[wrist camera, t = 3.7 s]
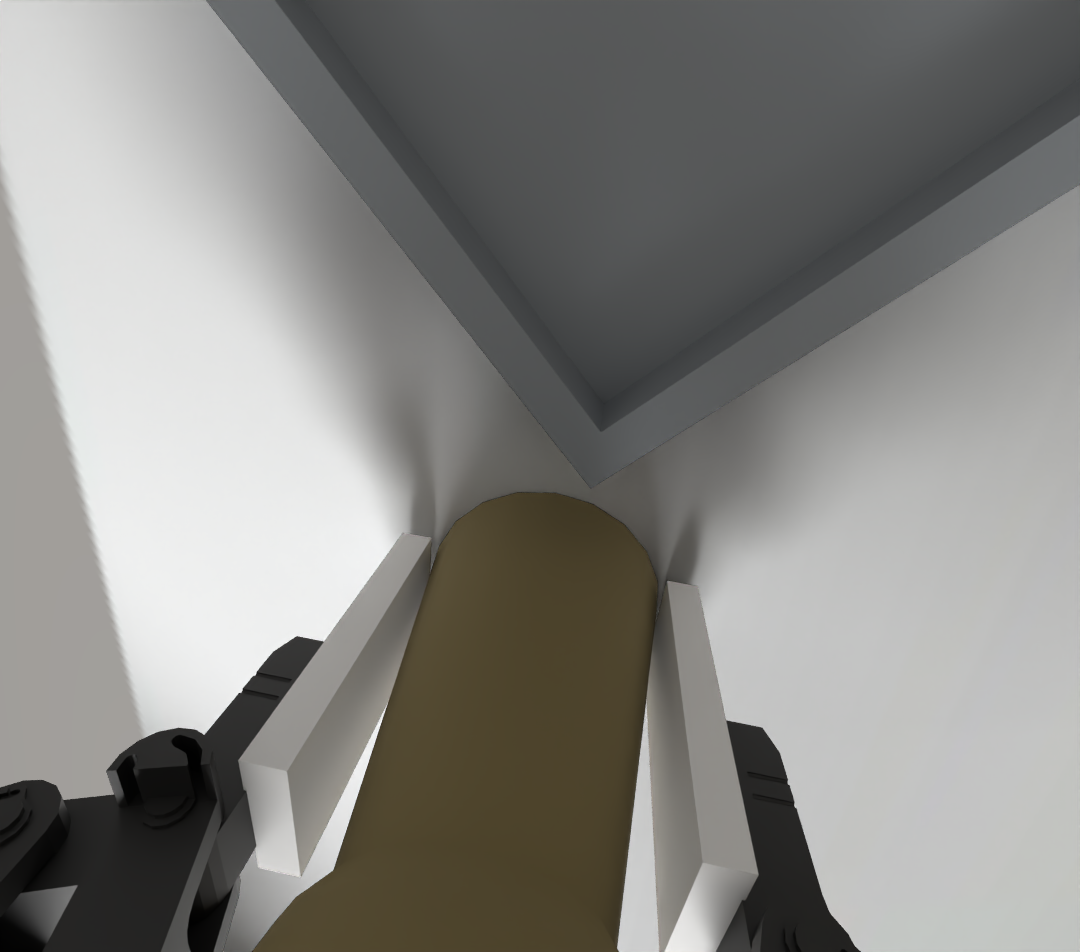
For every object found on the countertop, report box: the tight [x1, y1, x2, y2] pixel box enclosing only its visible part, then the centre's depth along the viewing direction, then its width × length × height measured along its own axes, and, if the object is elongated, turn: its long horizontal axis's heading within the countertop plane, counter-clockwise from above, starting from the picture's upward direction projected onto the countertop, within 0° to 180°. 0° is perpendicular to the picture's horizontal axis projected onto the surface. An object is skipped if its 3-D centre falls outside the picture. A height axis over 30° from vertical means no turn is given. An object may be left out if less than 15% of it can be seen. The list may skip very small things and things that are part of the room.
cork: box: [252, 493, 658, 952], centre depth 9 cm, size 6×6×11 cm
